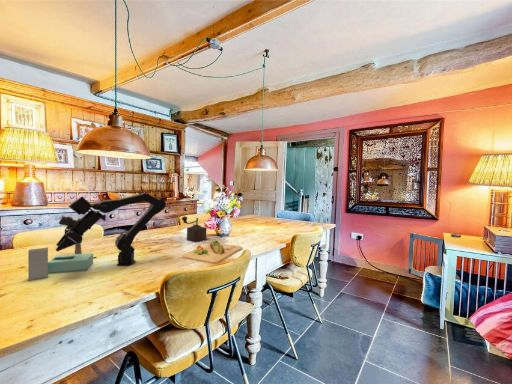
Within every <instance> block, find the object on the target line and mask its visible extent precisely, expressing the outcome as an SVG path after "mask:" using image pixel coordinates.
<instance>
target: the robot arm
mask: <svg viewBox="0 0 512 384" xmlns="http://www.w3.org/2000/svg"><path fill="white" fill-rule="evenodd" d="M140 202H146V203H148V204H149V205H148V209H147V210H146V212H145V213H144V214H143V215H142V216H141V217H140V218H138V220H136V222H135V223H134V225H133V226H132V227H131V228H130V229H129V230H128V231H126V232H125V233H124V232H123V231H121V233H120V234H119V236H117V237H115V241H114V246H115V247H116V248H117V250H118V251H119V252H118V255H117V264H116V266H125V267H126V266H127V267H128V266H131V265H133V264H134V263H136V260H135V247H133V246H132V243H133V242H134V239H135V238H136V236H137V235H138V234H139V233H141V232H140V231H142V229H143V228H144V227H146V226H147V224H148V223H149V222H150V221H151V220H152V219H153V217H154V216H156V215H157V214H160V212H162V211H163V210H164V209H166V207H167V204H166V201H165V200H164V199H161V198H156V197H155V196H152V195H150V194H149V193H146V192H142V193H139V194H134V195H131V196H125V197H122V198H119V199H118V198H117V199H102V200H100V201H99V202H96V203H94V202H93V203H90V202H89V201H88V200H87V199H85V197H83V196H80V197H79V198H77V199H76V200H74V201H73V202H71V203H70V204H69V205H68V208H70V209H71V210H72V211H73V212H75V213H76V214H77V215H79V216H80V215H83V216H82V217H81V218H78V219H74V218H73V217H69V216H65V215H62V216H61V218H60V220H59V222H58V224H59V225H61V226H66V227H65V229H64V234H63V236H62V237H61V238H60V239H59V241H58V242H57V243H56V246H57V247H56V248H55V251H56V252H60V251H62V250H65V249H67V248H70V247H73V246H75V245H76V244H77V243H78V244H79V243H80V242H81V241H82V242H83V236H84V234H85V233H86V232H88V230H91V229H92V227H93V226H94V225H95V224H97V223H98V222H99V221H100V220H103V222H105V221H106V217H107V216H106V214H110V213H111V212H113V211H116V210H118V209H119V208H121V207H126V206H129V205H133V204H138V203H140ZM95 210H96V211H95ZM102 213H104V214H102Z"/></svg>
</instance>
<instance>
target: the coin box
mask: <svg viewBox="0 0 512 384" xmlns="http://www.w3.org/2000/svg"><path fill="white" fill-rule="evenodd" d="M93 257H94V253H93V252H91V253H90V252H88V253H82V254H75V253H74V254H71V253H70V254H60V255H55V256H54V257H52V258H51V259H50V260H48V275H49V274H51V275H52V274H62V273H72V272H82V271H83V272H85V271H88V269H90V267H91V266H92V265H93V263H94V259H93Z"/></svg>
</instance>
